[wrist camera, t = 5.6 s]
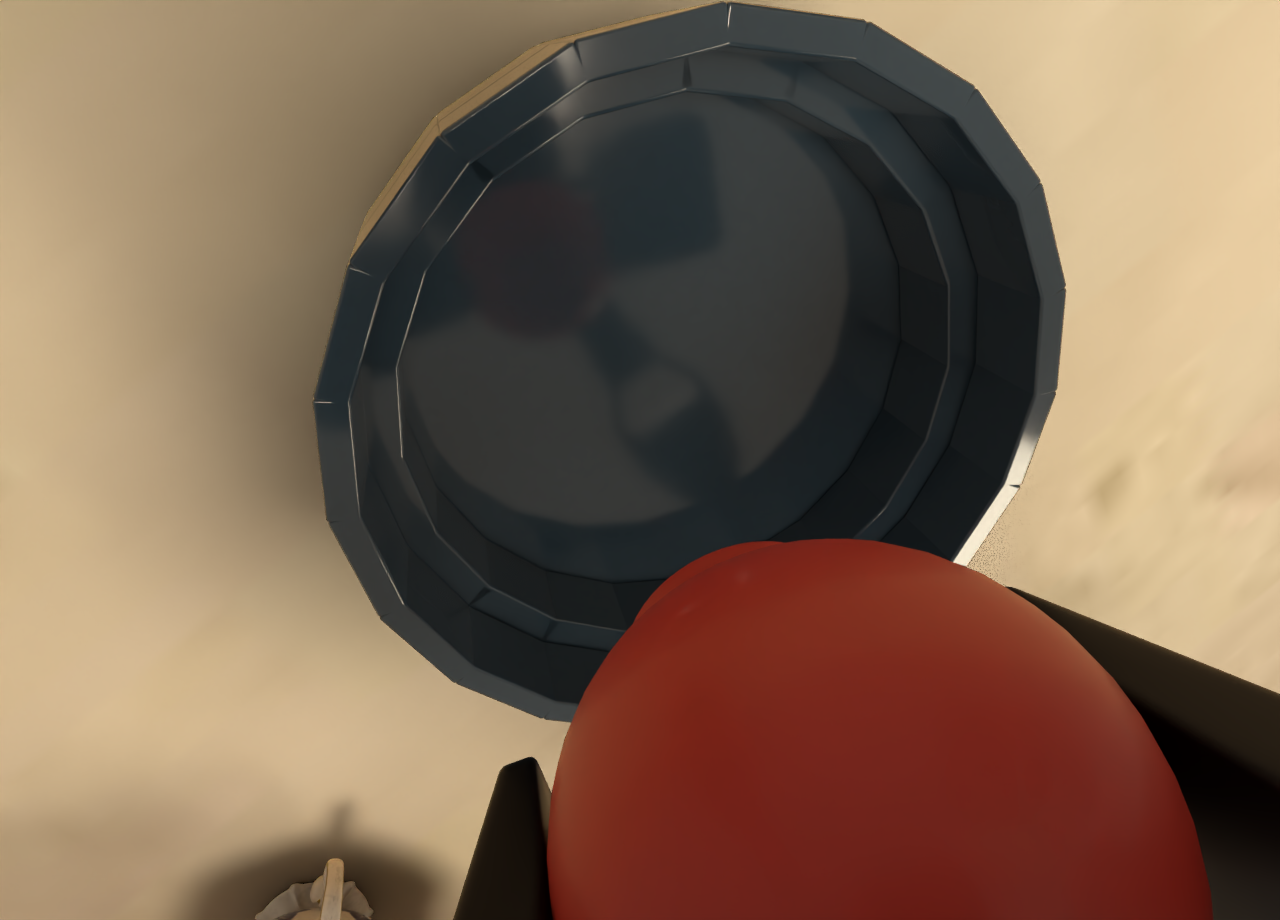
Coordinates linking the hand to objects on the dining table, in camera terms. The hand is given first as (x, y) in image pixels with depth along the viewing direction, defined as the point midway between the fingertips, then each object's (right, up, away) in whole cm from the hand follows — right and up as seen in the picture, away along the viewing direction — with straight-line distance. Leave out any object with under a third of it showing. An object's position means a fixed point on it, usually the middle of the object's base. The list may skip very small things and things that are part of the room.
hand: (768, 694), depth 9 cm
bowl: (-1, +5, +10) cm, 11 cm away
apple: (0, 0, +1) cm, 1 cm away
